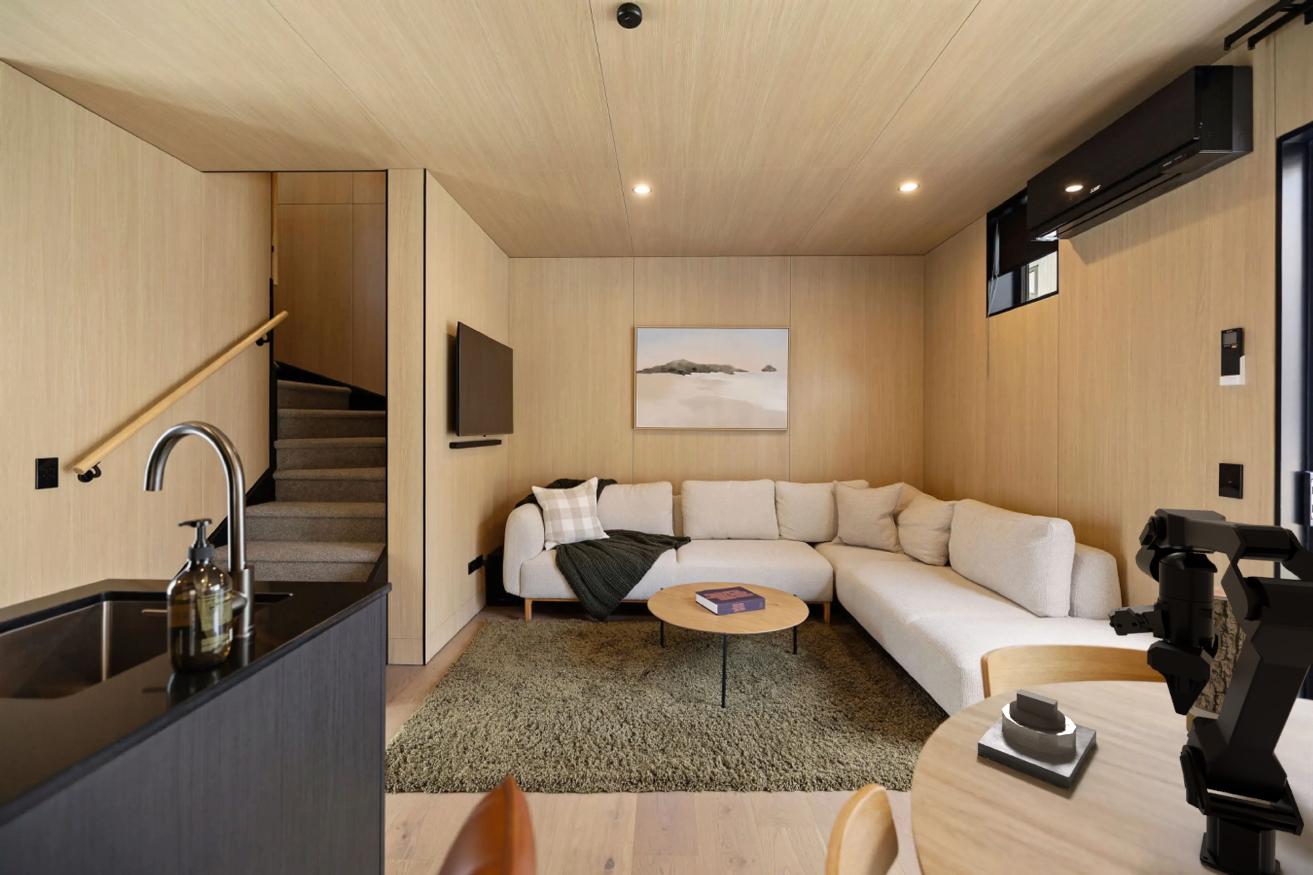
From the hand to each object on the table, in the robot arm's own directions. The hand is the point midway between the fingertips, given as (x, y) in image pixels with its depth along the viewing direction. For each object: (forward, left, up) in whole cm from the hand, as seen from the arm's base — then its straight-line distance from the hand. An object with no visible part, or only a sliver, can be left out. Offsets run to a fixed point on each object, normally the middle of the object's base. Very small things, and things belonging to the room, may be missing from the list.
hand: (1184, 702), depth 80 cm
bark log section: (+20, -2, -13) cm, 24 cm away
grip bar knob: (-4, +17, -10) cm, 20 cm away
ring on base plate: (-4, +17, -12) cm, 21 cm away
